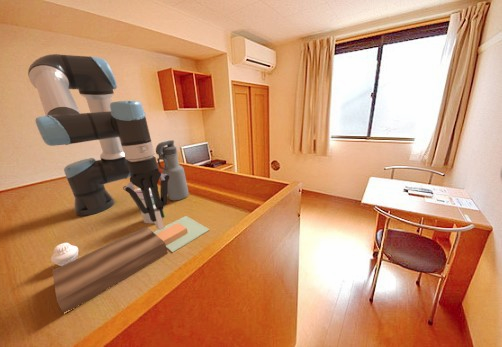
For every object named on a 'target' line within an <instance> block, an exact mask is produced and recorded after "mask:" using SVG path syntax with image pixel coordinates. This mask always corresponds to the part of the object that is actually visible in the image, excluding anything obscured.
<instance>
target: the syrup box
mask: <svg viewBox="0 0 502 347" xmlns="http://www.w3.org/2000/svg"><path fill="white" fill-rule="evenodd" d="M134 191H135V192H136V194H137V195H138V197H139V198H140V200H141V201H142V203H143V204H144V206H145V207H146V204H145V200H144V197H143V193H142V191H141V189H140V188H138V187H137V189H136V188H135V190H134ZM149 191H150V192H149V193H150V197H151V200H152V204H153V208H154V209H155V208H156V206H155V203H154V199H153V196H152V192H151V189H150V188H149ZM146 208H147V207H146ZM139 211H140V213H141V216H142V219H143V220H142V221H143V223H145V224H155V222H153V221H151V219H150V216H149V213H146V214H144V213H143V212H142V211H141V210H140V209H139ZM163 213H164V217H166V214H165V210H164V209H163Z"/></svg>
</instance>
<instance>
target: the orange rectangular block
mask: <svg viewBox="0 0 502 347" xmlns="http://www.w3.org/2000/svg"><path fill="white" fill-rule="evenodd" d="M187 233H188V231H187V228H186V227H184V226H183V225H181V224H180V223H176V224H175V225H173V226H171V227H169V228H167V229H165V230H163V231H161V232H159V233H157V234H156V235H157V236H158V237H159V238H160V239H162V240H163V241H164V242H165V245H168V244H170V243H171V242H173V241H175V240H177V239H178V238H180V237H182V236H184V235H185V234H187Z"/></svg>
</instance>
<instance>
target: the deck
mask: <svg viewBox="0 0 502 347" xmlns="http://www.w3.org/2000/svg"><path fill="white" fill-rule="evenodd" d="M153 232H154V231H153V230H151V229H150V228H149V227H148V226H145V227H142V228H140V229H139V230H137V231H133V232H132V233H130V234H128V235H125V236H124V237H121V238H119V239H116V240H115V241H112V242H111V243H109V244H108V243H107V244H106V245H104V246H102V247H100V248H97V249H96V250H93V251H91V252H89V253H87V254H85V255H83V256H81V257H77V259H76V260H74V261H71V262H69V263H67V264H65V265H63V266H59V267H57V268H54V269H52V272H51V273H52V277H53V285H54V291H55V296H56V297H55V298H56V302H57V304H58V306H59V308H60V310H61V312H62V313H64V312H66V311H68V310H71V309H73V308H75V307H77V306H78V305H80V304H82V303H83V304H85V303H87V302H88V300H89V301H90V300H92V299H93V297H94V298H95V297H97V296H98V294H99V295H101V294H102V293H103V291H104V290H105V291H107V290H108V289H107V288H109V287H110V288H112V287H113V285H114V286H116V285H117V284H118V282H119V283H120V282H122V281H123V280H125V279H127V278H128V277H131V276H132V275H134V274H136V273H137V272H139V271H140V270H142V269H144V268H145V267H147V266H149V265H150V264H152V263H154V262H156V261H157V260H159V259H160V258H162V257H164V256H166V255H167V254H169V252H168V248H167V247H166V245H165V242H164V241H163V240H162V239H160V238H159V237H158V236H157V235H156V234H155V233H153ZM116 283H117V284H116ZM111 286H112V287H111ZM110 288H109V289H110ZM106 289H107V290H106ZM105 291H104V292H105ZM101 292H102V293H101ZM96 295H97V296H96ZM91 298H92V299H91ZM86 301H87V302H86ZM84 302H85V303H84ZM83 304H82V305H83ZM80 306H81V305H80ZM78 307H79V306H78ZM78 307H77V308H78ZM75 309H76V308H75ZM73 310H74V309H73Z"/></svg>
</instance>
